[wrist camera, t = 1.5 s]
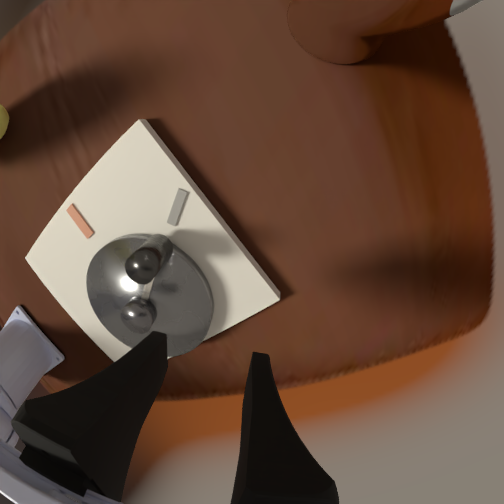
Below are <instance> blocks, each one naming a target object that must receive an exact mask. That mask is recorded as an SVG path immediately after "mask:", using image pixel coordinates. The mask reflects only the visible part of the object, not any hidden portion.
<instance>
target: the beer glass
mask: <svg viewBox="0 0 504 504" xmlns="http://www.w3.org/2000/svg"><path fill="white" fill-rule="evenodd" d="M481 1H483V0H291V1H290V3H289V6H288V10H287V23H288V27H289V30H290V32H291V34H292V36H293V37H294V39H295V40H296V42H297V43H298V44H299V45H300V46H301V47H302V48H303V49H304V50H306V51H307V52H308V53H310V54H311V55H313V56H315V57H317V58H319V59H321V60H324V61H327V62H330V63H335V64H353V63H358V62H361V61H364V60H366V59H368V58H369V57H371V56H372V55H373V54H375V53H376V52H377V50H378V49H379V48H380V46H381V45H382V43H383V41H384V39H385V37H386V36H389V35H394V34H398V33H402V32H406V31H410V30H414V29H418V28H421V27H424V26H427V25H431V24H434V23H437V22H440V21H443V20H445V19H447V18H449V17H451V16H454V15H455V14H458V13H460V12H462V11H465V10H467V9H468V8H470V7H472V6H473V5H475V4H477V3H479V2H481Z"/></svg>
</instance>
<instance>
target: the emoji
mask: <svg viewBox="0 0 504 504" xmlns="http://www.w3.org/2000/svg"><path fill="white" fill-rule="evenodd" d="M8 123H9V115H8V113H7V111H6V109H5V108H4V107H3V106H2V105H1V104H0V139H1V138H2V137H3V135H4V134H5V132H6V130H7V126H8Z"/></svg>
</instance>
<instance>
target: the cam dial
mask: <svg viewBox="0 0 504 504" xmlns="http://www.w3.org/2000/svg"><path fill="white" fill-rule="evenodd" d="M86 287H87V294H88V298H89V301H90V304H91V306H92V308H93V311H94V312H95V314H96V316H97V318H98V319H99V320H100V322H101V323H102V325H103V326H104V327H105V328H106V329H107V330H108V331H109V332H110V333H111V334H112V335H113V336H114V337H115V338H117V339H118V340H119V341H120V342H122V343H123V344H125V345H127V346H128V347H130V348H133V347H135V346H136V345H137V344H138V343H139V342H141V341H142V340H143V339H144V338H145V337H146V336H148V335H149V334H150V333H151V332H152V331H157V332H161V333H165V334H167V356H168V357H172V356H178V355H182V354H185V353H187V352H189V351H191V350H193V349H195V348H196V347H197V346H198V345H199V344H200V343H201V342H202V341H203V340H204V338H205V336H206V335H207V333H208V330H209V327H210V324H211V321H212V318H213V313H214V301H213V295H212V291H211V288H210V285H209V283H208V280H207V278H206V277H205V275H204V273H203V272H202V270H201V269H200V267H199V266H198V265H197V264H196V262H195V261H194V260H193V259H192V258H191V257H190V256H189V255H188V254H186V253H185V252H184V251H183V250H181V249H180V248H179V247H177V246H176V245H174V244H172V242H171V241H170V239H169V238H168V237H166V236H165V235H162V234H154V235H147V234H128V235H123V236H120V237H118V238H115V239H114V240H112V241H110V242H109V243H108V244H106V245H105V246H104V247H102V248H101V249H100V250H99V251H98V252H97V253H96V254H95V255H94V257H93V258H92V260H91V262H90V264H89V267H88V271H87V276H86Z"/></svg>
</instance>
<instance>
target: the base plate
mask: <svg viewBox="0 0 504 504" xmlns="http://www.w3.org/2000/svg"><path fill="white" fill-rule="evenodd" d="M128 234H147V235H154V234H162V235H165V236H166V237H168V238H169V239H170V241H171V242H172V244H174V245H176V246H177V247H179V248H180V249H181V250H183V251H184V252H185V253H186V254H188V255H189V256H190V257H191V258H192V259H193V260H194V261H195V262H196V264H197V265H198V266H199V267H200V269H201V270H202V272H203V273H204V275H205V277H206V278H207V280H208V283H209V285H210V288H211V291H212V295H213V301H214V313H213V318H212V321H211V324H210V327H209V330H208V333H207V335H206V336H205V338H204V340H206V339H208V338H210V337H212V336H214V335H216V334H218V333H220V332H222V331H224V330H226V329H228V328H229V327H231V326H233V325H235V324H237V323H239V322H241V321H243V320H244V319H246V318H248V317H250V316H252V315H254V314H255V313H257V312H259V311H261V310H263V309H265V308H266V307H268V306H270V305H272V304H274V303H275V302H277V301H279V300H280V291H279V290H278V289H277V288H276V286H275V285H274V284H273V283H272V281H271V280H270V279H269V277H268V276H267V275H266V274H265V272H264V271H263V270H262V268H261V267H260V266H259V265H258V263H257V262H256V261H255V259H254V258H253V257H252V256H251V254H250V253H249V252H248V250H247V249H246V248H245V247H244V245H243V244H242V243H241V241H240V240H239V239H238V238H237V236H236V235H235V234H234V233H233V231H232V230H231V229H230V227H229V226H228V225H227V224H226V222H225V221H224V220H223V218H222V217H221V216H220V215H219V213H218V212H217V211H216V209H215V208H214V207H213V206H212V204H211V203H210V202H209V200H208V199H207V198H206V197H205V195H204V194H203V193H202V191H201V190H200V189H199V188H198V186H197V185H196V184H195V182H194V181H193V180H192V178H191V177H190V176H189V175H188V173H187V172H186V171H185V169H184V168H183V167H182V166H181V164H180V163H179V162H178V160H177V159H176V158H175V157H174V155H173V154H172V153H171V151H170V150H169V149H168V148H167V146H166V145H165V144H164V142H163V141H162V140H161V139H160V137H159V136H158V135H157V133H156V132H155V131H154V129H153V128H152V127H151V126H150V124H149V123H148V122H147V120H146V119H139V120H138V121H137V122H136V123H135V124H134V125H133V126H132V127H131V128H130V129H129V130H128V131H127V132H126V133H125V134H124V135H123V136H122V137H121V138H120V139H119V140H118V141H117V142H116V143H115V144H114V145H113V146H112V147H111V148H110V149H109V150H108V151H107V152H106V153H105V155H104V156H103V157H102V158H101V159H100V160H99V161H98V162H97V163H96V165H95V166H94V167H93V168H92V169H91V170H90V171H89V173H88V174H87V175H86V176H85V177H84V178H83V180H82V181H81V182H80V183H79V184H78V186H77V187H76V188H75V189H74V191H73V192H72V193H71V194H70V196H69V197H68V198H67V199H66V201H65V202H64V203H63V205H62V206H61V207H60V208H59V210H58V211H57V212H56V214H55V215H54V217H53V218H52V219H51V221H50V222H49V223H48V225H47V226H46V228H45V229H44V230H43V232H42V233H41V235H40V236H39V238H38V239H37V241H36V242H35V244H34V245H33V247H32V248H31V250H30V251H29V253H28V254H27V256H26V258H25V259H26V260H27V262H28V263H29V264H30V266H31V267H32V269H33V270H34V271H35V273H36V274H37V275H38V277H39V278H40V279H41V281H42V282H43V283H44V285H45V286H46V287H47V288H48V290H49V291H50V292H51V293H52V295H53V296H54V297H55V298H56V300H57V301H58V302H59V303H60V304H61V306H62V307H63V308H64V309H65V310H66V311H67V313H68V314H69V315H70V316H71V317H72V318H73V320H74V321H75V322H76V323H77V324H78V325H79V326H80V327H81V328H82V330H83V331H84V332H85V333H86V334H87V335H88V336H89V337H90V338H91V339H92V340H93V341H94V342H95V343H96V344H97V345H98V346H99V347H100V348H101V349H102V350H103V351H104V352H105V353H106V354H107V355H108V356H109V357H110V358H111V359H112V360H113V361H114V362H115V361H117V360H118V359H120V358H121V357H122V356H123V355H125V354H126V353H127V352H128V351H130V350H131V349H132V348H130V347H128V346H127V345H125V344H123V343H122V342H120V341H119V340H118V339H117V338H115V337H114V336H113V335H112V334H111V333H110V332H109V331H108V330H107V329H106V328H105V327H104V326H103V325H102V323H101V322H100V320H99V319H98V318H97V316H96V314H95V312H94V311H93V308H92V306H91V304H90V301H89V298H88V294H87V287H86V276H87V271H88V267H89V264H90V262H91V260H92V258H93V257H94V255H95V254H96V253H97V252H98V251H99V250H100V249H101V248H102V247H104V246H105V245H106V244H108V243H109V242H110V241H112V240H114V239H115V238H118V237H120V236H123V235H128ZM204 340H203V341H204ZM172 357H173V356H172ZM168 358H171V357H168Z"/></svg>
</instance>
